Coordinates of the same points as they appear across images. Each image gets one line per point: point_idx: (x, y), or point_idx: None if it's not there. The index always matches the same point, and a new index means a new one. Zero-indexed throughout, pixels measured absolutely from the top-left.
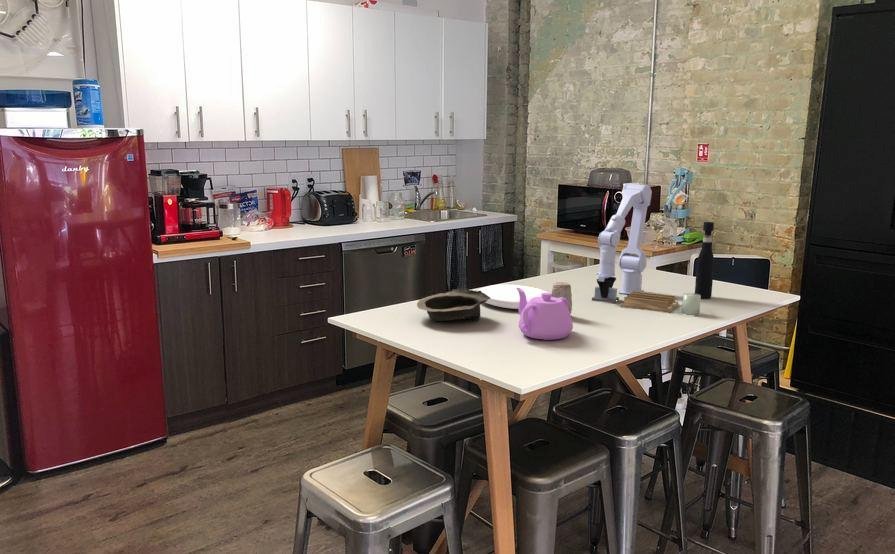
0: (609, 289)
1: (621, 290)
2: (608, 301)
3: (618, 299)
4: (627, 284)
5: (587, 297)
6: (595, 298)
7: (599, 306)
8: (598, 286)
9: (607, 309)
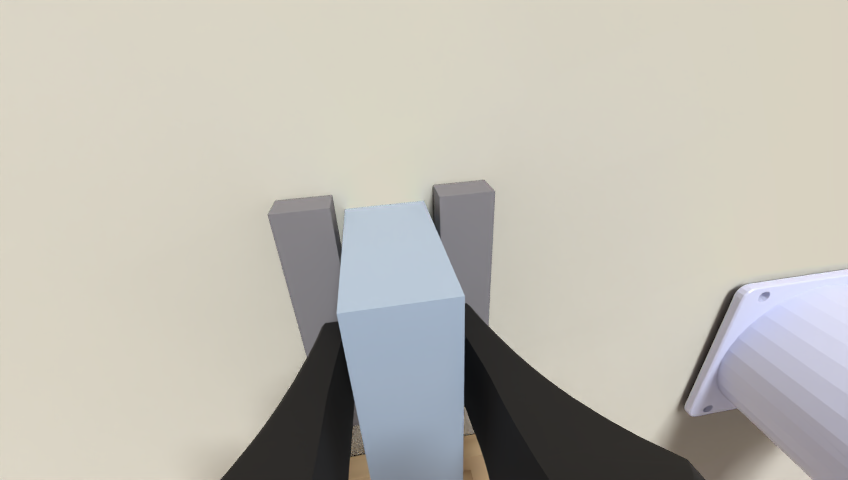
0: (372, 478)
1: (825, 283)
2: None
3: None
4: (811, 421)
5: (403, 78)
6: (283, 259)
7: (60, 384)
8: (448, 326)
9: (27, 469)
